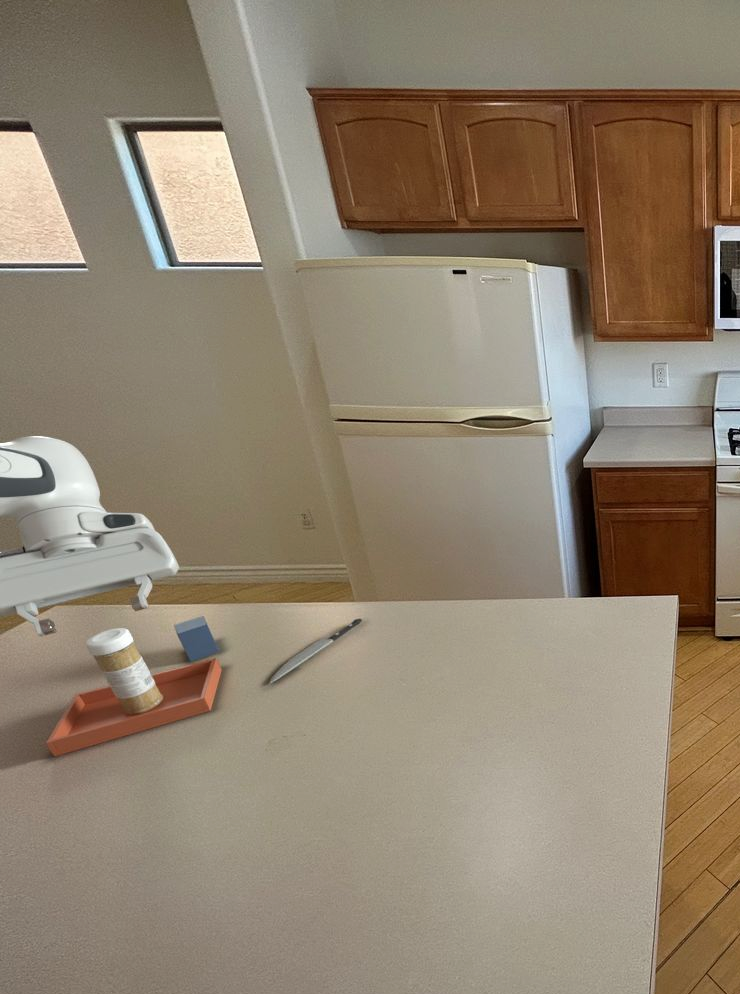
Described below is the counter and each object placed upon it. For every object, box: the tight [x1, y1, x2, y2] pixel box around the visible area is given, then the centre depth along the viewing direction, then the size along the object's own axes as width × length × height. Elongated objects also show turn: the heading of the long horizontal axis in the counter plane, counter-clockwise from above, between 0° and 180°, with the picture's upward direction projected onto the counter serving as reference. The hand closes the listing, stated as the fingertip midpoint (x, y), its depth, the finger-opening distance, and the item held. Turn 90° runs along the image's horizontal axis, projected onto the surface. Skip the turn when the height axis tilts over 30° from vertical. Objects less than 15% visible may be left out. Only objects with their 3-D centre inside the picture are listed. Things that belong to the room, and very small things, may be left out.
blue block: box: [173, 615, 220, 663], centre depth 99 cm, size 4×4×6 cm
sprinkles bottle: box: [84, 627, 163, 715], centre depth 84 cm, size 5×5×14 cm
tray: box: [45, 657, 223, 757], centre depth 87 cm, size 17×12×3 cm
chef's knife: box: [268, 618, 363, 685], centre depth 101 cm, size 19×1×3 cm
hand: (95, 620), depth 80 cm, fingers open, 8 cm apart
